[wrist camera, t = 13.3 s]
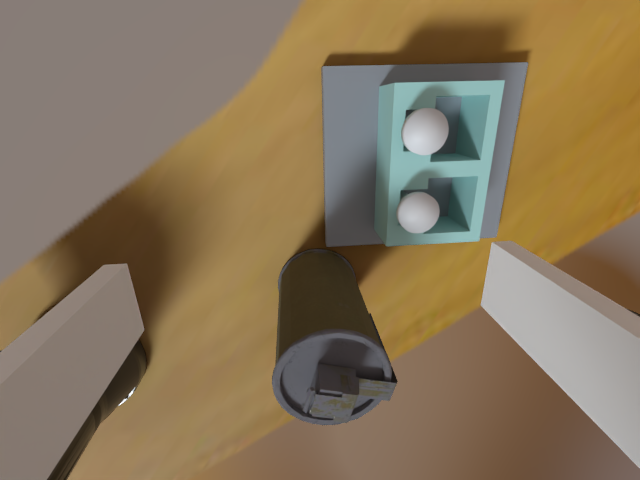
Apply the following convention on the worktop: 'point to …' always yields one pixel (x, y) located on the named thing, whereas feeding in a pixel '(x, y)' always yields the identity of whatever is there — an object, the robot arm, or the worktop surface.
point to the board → (362, 141)
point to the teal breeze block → (436, 159)
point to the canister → (327, 343)
